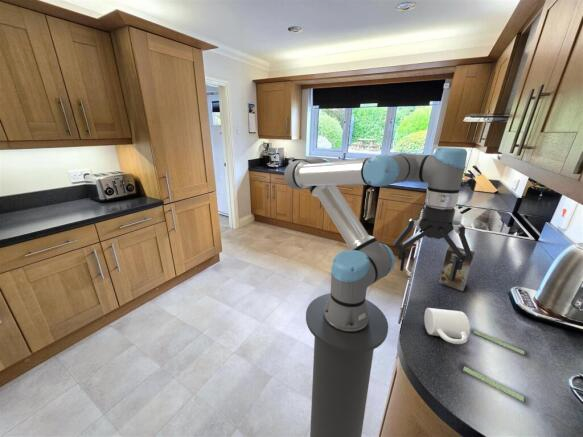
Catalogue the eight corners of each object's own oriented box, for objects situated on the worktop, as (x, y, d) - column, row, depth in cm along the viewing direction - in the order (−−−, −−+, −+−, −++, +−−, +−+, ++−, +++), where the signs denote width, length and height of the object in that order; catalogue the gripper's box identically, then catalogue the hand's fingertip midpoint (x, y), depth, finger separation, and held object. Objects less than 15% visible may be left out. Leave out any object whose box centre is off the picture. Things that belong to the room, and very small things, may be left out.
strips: (463, 370, 65) (463, 369, 65) (474, 330, 79) (474, 330, 78) (523, 402, 57) (523, 401, 57) (523, 351, 71) (524, 351, 71)
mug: (422, 322, 82) (426, 302, 80) (454, 326, 80) (459, 306, 78) (436, 351, 71) (441, 329, 68) (473, 356, 69) (480, 334, 67)
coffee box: (438, 283, 105) (445, 249, 100) (441, 277, 109) (449, 244, 104) (463, 291, 99) (472, 256, 94) (466, 285, 103) (475, 251, 98)
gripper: (390, 204, 68) (381, 270, 75) (500, 215, 59) (478, 290, 65) (391, 198, 75) (383, 260, 81) (490, 207, 65) (471, 276, 72)
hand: (425, 273), depth 73 cm, fingers open, 13 cm apart
